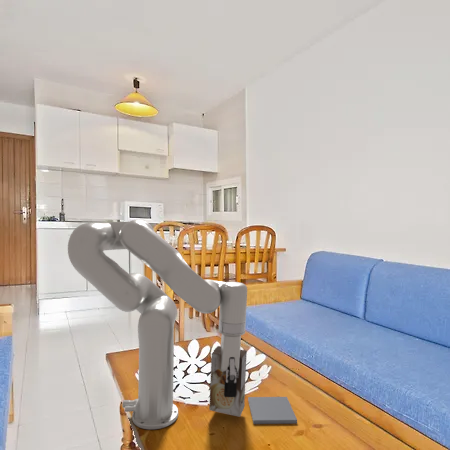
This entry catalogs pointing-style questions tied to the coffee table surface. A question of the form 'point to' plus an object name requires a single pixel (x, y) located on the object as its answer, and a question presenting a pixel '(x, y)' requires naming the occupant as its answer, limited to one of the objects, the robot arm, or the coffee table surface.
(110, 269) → the robot arm
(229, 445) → the coffee table surface
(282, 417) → the slate tile
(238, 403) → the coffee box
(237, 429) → the coffee table surface
